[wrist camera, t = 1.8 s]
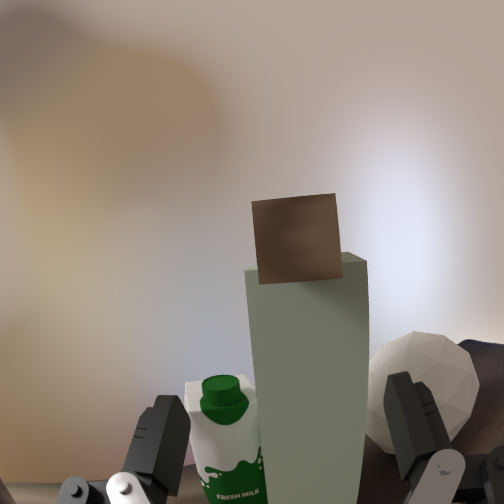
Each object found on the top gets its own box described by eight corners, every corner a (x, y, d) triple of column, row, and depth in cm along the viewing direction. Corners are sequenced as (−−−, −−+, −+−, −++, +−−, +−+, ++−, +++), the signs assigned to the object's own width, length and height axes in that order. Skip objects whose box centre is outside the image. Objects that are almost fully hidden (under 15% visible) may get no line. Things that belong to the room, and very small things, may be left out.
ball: (375, 475, 40) (312, 393, 47) (444, 402, 48) (391, 325, 54) (445, 491, 24) (365, 379, 31) (516, 385, 31) (455, 286, 38)
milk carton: (210, 522, 28) (178, 397, 28) (202, 481, 37) (177, 365, 36) (277, 509, 30) (267, 383, 30) (259, 471, 39) (247, 355, 38)
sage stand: (272, 539, 25) (244, 270, 24) (285, 476, 37) (269, 258, 36) (349, 538, 23) (366, 260, 22) (346, 473, 36) (348, 251, 35)
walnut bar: (259, 284, 15) (251, 201, 15) (290, 256, 36) (287, 221, 36) (342, 278, 15) (335, 193, 14) (326, 253, 35) (322, 218, 35)
